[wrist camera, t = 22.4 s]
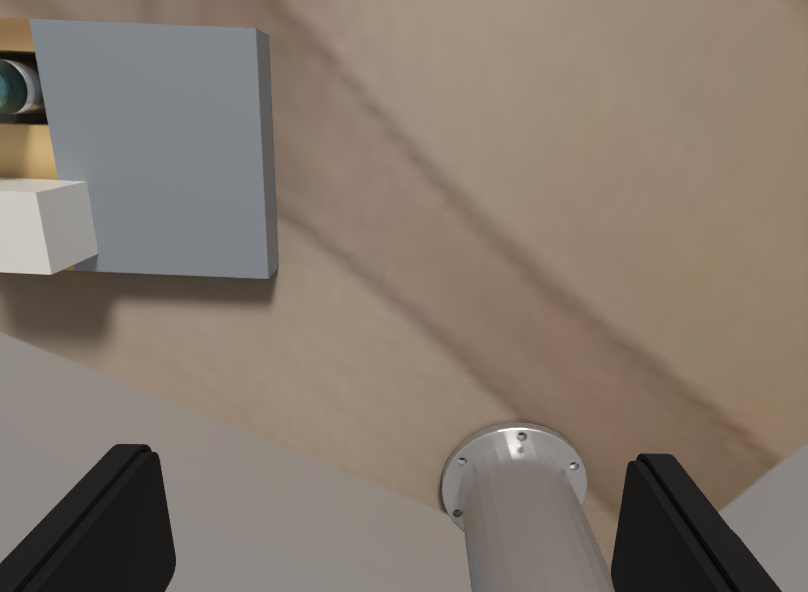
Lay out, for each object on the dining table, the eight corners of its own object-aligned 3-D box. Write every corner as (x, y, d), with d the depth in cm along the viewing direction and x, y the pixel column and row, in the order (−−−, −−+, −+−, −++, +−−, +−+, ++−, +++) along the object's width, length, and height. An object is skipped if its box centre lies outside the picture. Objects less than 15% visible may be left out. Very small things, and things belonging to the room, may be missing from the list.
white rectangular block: (98, 253, 36) (48, 276, 31) (-16, 247, 36) (-84, 269, 31) (86, 181, 35) (32, 193, 30) (-33, 175, 35) (-107, 186, 30)
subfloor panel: (278, 266, 40) (268, 278, 37) (-8, 254, 40) (-41, 265, 37) (268, 35, 34) (255, 28, 31) (-64, 21, 34) (-106, 13, 31)
